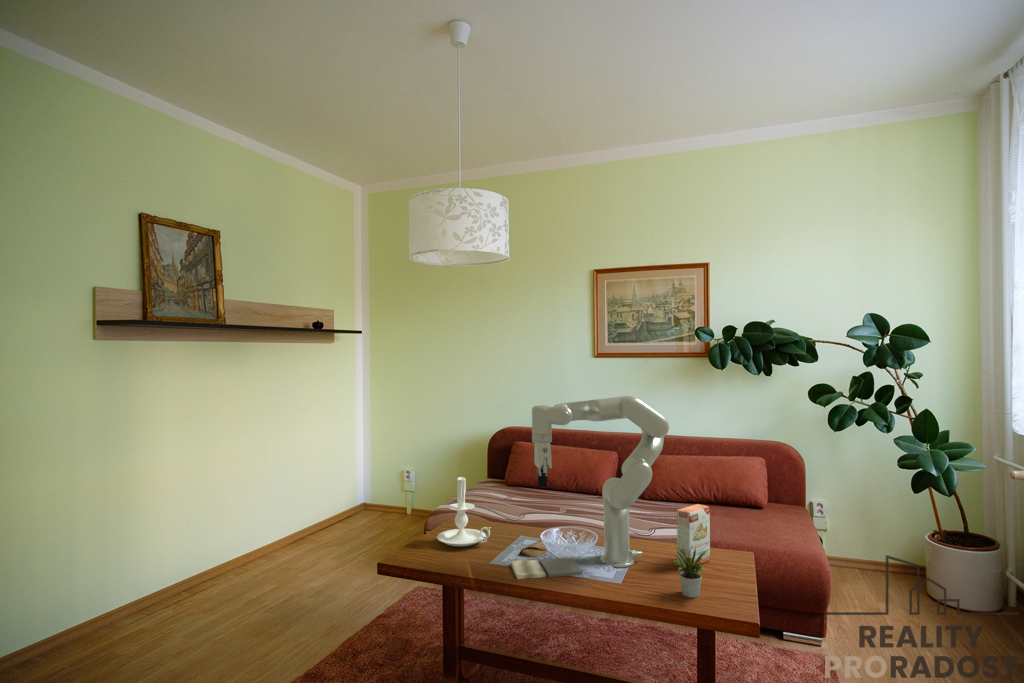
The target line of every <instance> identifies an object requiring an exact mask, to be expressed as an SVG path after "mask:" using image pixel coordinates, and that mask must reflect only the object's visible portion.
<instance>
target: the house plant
mask: <svg viewBox="0 0 1024 683" xmlns="http://www.w3.org/2000/svg"><path fill="white" fill-rule="evenodd" d="M666 545H669V546H670V547H672V548H673V549H675V553H676V554H673V556H675V557H676V559H674V560H673V562H674V563H675V564H676V565H677V564H678V565H680V566H678V565H677V567H678V569H677V572H679V571H681V572H679V580H680V587H681V592H682V595H683V596H685V597H687V598H698V597H699V596H700V591H701V585H702V584H701V583H702V578H703V576H702V575H703V574H704V570H703V569H702V568H703V567H707V562H706V563H698V561H699V560H700V558H701V557H702V556H703V555H704V554H705V552H707V551H708V550H706V551H704V552H703V553H702V554H701V555H700V556H699V557H698V558H697V560H696V561H695V563H694V559H695V555H696V548H695V549H694V552H693V558H691V556H692V554H691V556H690V555H689V557H687V555H686V553H685V550H684V548H683V546H682V545H681V546H679V547H680V549H681V551H682V553H683V555H684V557H685V560H684V558H683V557H682V555H680V554H679V552H678V551H677V547H675V546H673V545H671V544H667V543H666ZM692 545H693V544H692ZM691 547H692V546H691ZM677 552H678V553H677ZM690 553H691V549H690ZM677 554H679V555H680V557H681V558H682V560H683V562H684V564H685V566H686V567H685V566H684V565H683V563H682V562H681V560H680V559H679V557H678V556H677ZM677 558H678V559H679V560H680V561H678V560H677ZM685 561H686V562H685ZM673 562H672V563H673ZM697 563H698V564H697ZM693 564H694V565H693ZM700 573H701V574H700Z"/></svg>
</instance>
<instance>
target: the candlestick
mask: <svg viewBox="0 0 1024 683" xmlns="http://www.w3.org/2000/svg"><path fill="white" fill-rule="evenodd" d="M466 483H467V478H466V477H463V476H459V477H457V478H456V488H457V489H456V492H457V495H456V497H457V499H456V500H457V501H456V502H457V503H451V504H448V505H447V508H448V509H450V510H454V511H456V515H455V517H454V523H455V526H456V527H457V528H454V529H448V530H445V531H442V532H440V533H438V535H436V539H437V540H438V541H439V542H441V543H444V544H445V545H447V546H451V547H459V548H460V547H462V548H464V547H470V546H473V545H475V544H477V543H483V544H485V543H487V541H488V539H489V537H490V536H491V530H490V529H491V528H492V527H490V526H489V527H487V526H484V527H481V528H480V530H479V529H475V528H474V529H473V528H466V526H467V525H468V522H469V518H468V516H467V514H466V512H467V511H468V510H471V509H473V508H475V506H476V505H475V504H473V503H470V502H466V493H467V488H466V487H467V484H466ZM483 530H486V531H487V534H486V533H485V532H484V531H483Z"/></svg>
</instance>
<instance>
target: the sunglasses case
mask: <svg viewBox="0 0 1024 683" xmlns="http://www.w3.org/2000/svg"><path fill="white" fill-rule="evenodd" d="M548 552H549V551H547V549H546V547H545V545H544V544H543V543H542V541H541V539H539V540H537V541H536V542H533V543H532V544H530V545H528V546H526V547H524V548H522V549H521V550H520V551H519V553H518V556H520V557H526V558H539V557H541V556H543V555H545V554H546V553H548Z"/></svg>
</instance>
